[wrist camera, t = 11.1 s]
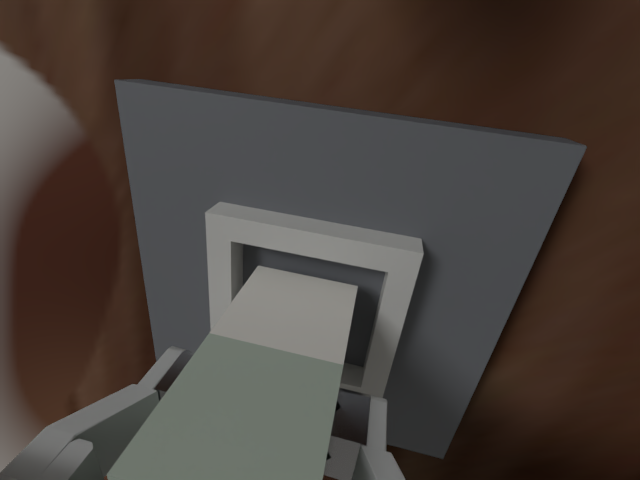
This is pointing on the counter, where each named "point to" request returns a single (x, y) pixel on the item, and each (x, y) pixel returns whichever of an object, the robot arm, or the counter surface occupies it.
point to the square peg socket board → (344, 230)
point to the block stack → (253, 389)
